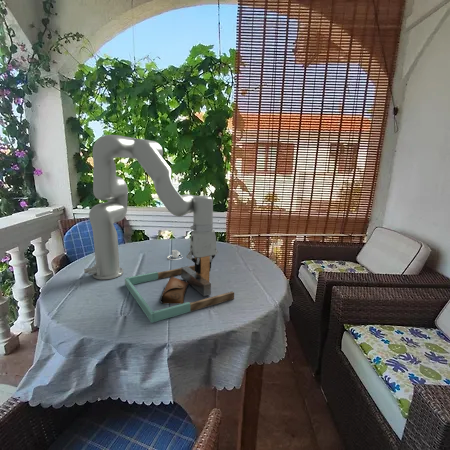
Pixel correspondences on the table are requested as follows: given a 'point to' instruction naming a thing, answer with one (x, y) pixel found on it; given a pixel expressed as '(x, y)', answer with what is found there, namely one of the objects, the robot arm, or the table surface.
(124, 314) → the table surface
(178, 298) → the sunglasses case
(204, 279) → the plank and post
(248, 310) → the table surface
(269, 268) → the table surface
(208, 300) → the channel
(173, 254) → the white looped piece
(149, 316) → the tray
